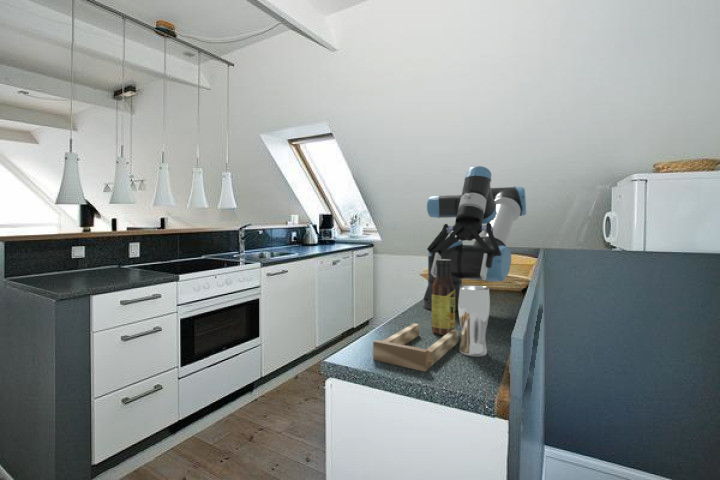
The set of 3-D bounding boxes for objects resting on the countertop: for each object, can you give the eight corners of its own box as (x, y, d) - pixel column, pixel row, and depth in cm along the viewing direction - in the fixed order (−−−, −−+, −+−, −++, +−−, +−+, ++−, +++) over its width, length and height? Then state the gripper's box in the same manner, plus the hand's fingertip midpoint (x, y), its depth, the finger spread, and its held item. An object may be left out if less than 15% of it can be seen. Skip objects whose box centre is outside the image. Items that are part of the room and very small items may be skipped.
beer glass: (485, 359, 81) (487, 291, 80) (453, 354, 84) (454, 288, 84) (491, 350, 87) (492, 286, 86) (461, 345, 90) (462, 284, 90)
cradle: (413, 334, 99) (413, 319, 99) (458, 342, 93) (458, 326, 92) (373, 359, 81) (373, 341, 81) (425, 371, 74) (425, 351, 74)
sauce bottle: (455, 337, 97) (456, 261, 96) (431, 335, 98) (432, 260, 97) (454, 329, 103) (455, 258, 103) (431, 328, 105) (432, 258, 104)
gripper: (427, 206, 114) (410, 267, 104) (513, 201, 99) (502, 271, 90) (435, 220, 119) (420, 280, 109) (518, 217, 104) (509, 285, 95)
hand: (457, 276), depth 100 cm, fingers open, 13 cm apart
